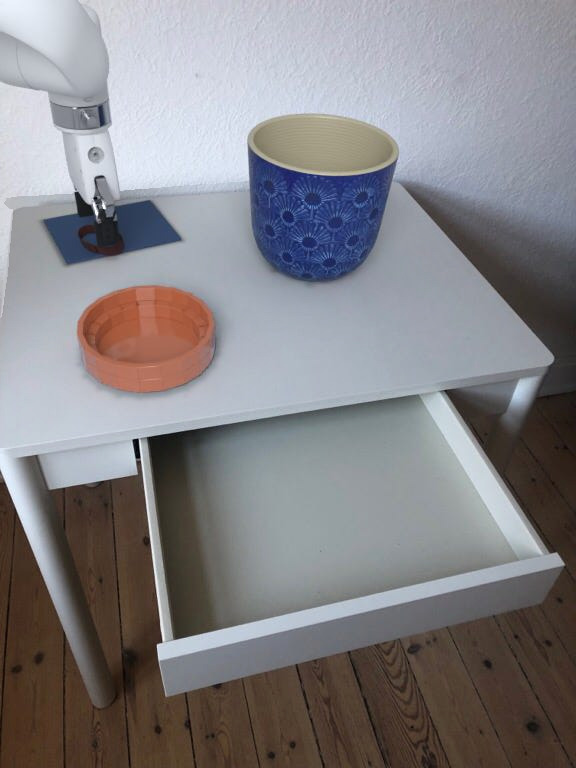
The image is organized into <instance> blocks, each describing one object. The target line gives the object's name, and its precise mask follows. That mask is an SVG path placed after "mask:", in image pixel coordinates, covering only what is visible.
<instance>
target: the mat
mask: <svg viewBox="0 0 576 768" xmlns="http://www.w3.org/2000/svg"><path fill="white" fill-rule="evenodd" d="M101 209H102V208H99V214H100V211H101ZM114 209H115V211H116V216H117V223H118V231H119V234H120V235H121V236H122V237H123V241H124V245H125V247H124V250H123V251H121V252H120V253H119V254H122V253H127V252H131V251H136V250H137V251H138V250H141V249H147V248H150V247H155V246H160V245H164V244H169V243H173V242H178V241H179V242H180V241H181V240H182V238H181V237H180V235H179V234H178V233H177V232H176V230H175V229H174V228H173V226H172V225H171V224H170V222H168V220H167V219H166V218H165V217H164V215H163V214H162V213H161V212H160V211H159V209H158V208H157V207H156V206H155V204H154V203H153V202H152V200H151V199H147V200H142V201H137V202H131V203H126V204H120V205H115V206H114ZM94 221H96V219H95V216H94V215H93V216H87V217H79V215H78V212H76V213H71V214H66V215H61V216H60V215H59V216H55V217H50V218H44V219H43V223H44V225H45V226H46V228H47V230H48V232H49V234H50V235H51V238H52V239H53V241H54V243H55V245H56V246H57V248H58V250H59V252H60V254H61V256H62V258H63V260H64V261H65V263H66V265H70V264H76V263H81V262H85V261H90V260H94V259H99V258H104V257H108V256H110V255H102V254H98V253H97V254H95V253H93V252H90V251H89V250H87V249H86V248H85V247H83V245H82V244H81V241H80V239H79V237H78V230H79V229H80V228H81V227H82V226H85V225H94ZM82 240H83V241H84V242H88V243H90V244H92V245H96V246H98V245H97V241H96V234H95V233H90V234H87V235H85V236H84V237H83V238H82ZM120 242H121V241H120ZM116 245H118V244H116ZM116 245H111V246H106V247H112V246H116Z"/></svg>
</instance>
